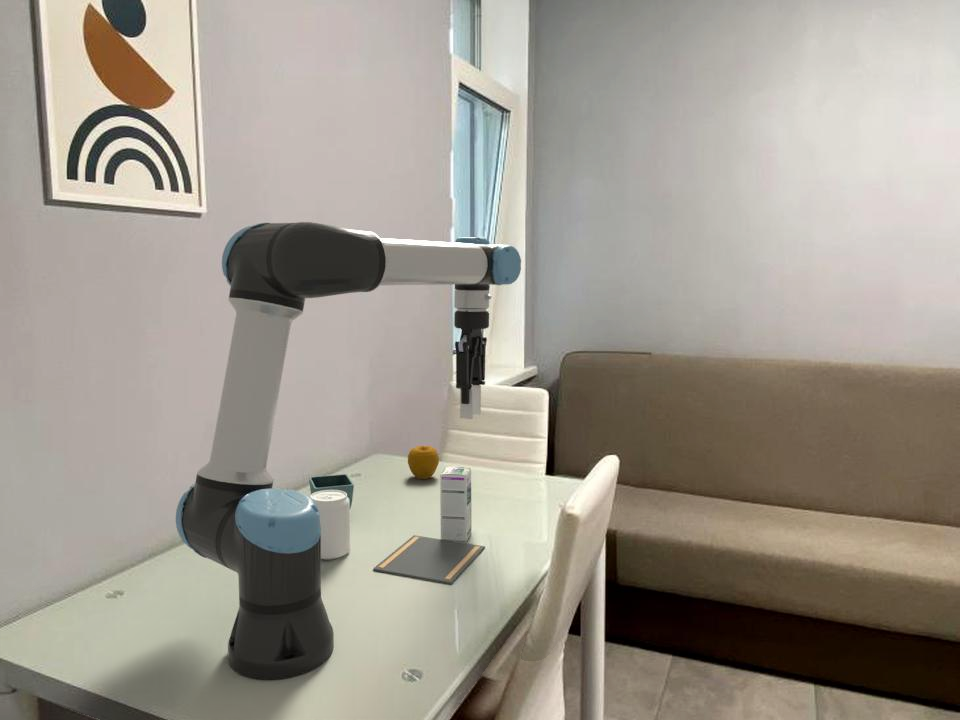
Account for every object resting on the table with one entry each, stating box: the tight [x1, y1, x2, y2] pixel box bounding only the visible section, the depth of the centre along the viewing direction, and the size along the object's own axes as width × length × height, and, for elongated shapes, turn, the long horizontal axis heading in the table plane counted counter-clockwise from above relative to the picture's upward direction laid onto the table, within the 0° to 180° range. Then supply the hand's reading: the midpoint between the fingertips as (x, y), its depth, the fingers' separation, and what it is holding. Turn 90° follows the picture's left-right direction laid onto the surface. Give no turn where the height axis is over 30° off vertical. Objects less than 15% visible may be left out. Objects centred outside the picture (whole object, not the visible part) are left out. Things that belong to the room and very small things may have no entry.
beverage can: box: [309, 490, 351, 561], centre depth 141 cm, size 8×8×12 cm
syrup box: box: [439, 466, 472, 542], centre depth 151 cm, size 6×6×14 cm
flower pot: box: [308, 473, 355, 509], centre depth 160 cm, size 9×9×9 cm
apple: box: [407, 445, 440, 480], centre depth 193 cm, size 8×8×9 cm
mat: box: [372, 534, 486, 585], centre depth 139 cm, size 18×16×1 cm
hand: (470, 415), depth 156 cm, fingers open, 4 cm apart
